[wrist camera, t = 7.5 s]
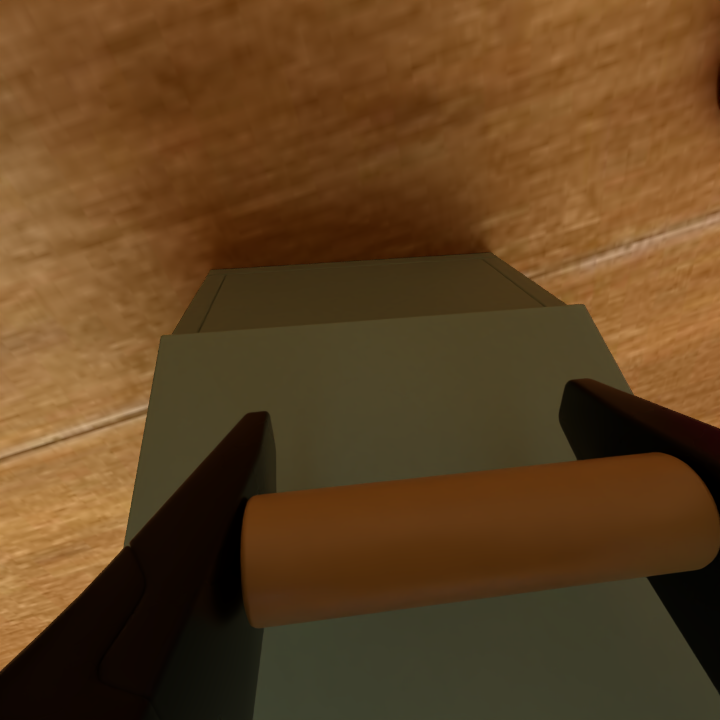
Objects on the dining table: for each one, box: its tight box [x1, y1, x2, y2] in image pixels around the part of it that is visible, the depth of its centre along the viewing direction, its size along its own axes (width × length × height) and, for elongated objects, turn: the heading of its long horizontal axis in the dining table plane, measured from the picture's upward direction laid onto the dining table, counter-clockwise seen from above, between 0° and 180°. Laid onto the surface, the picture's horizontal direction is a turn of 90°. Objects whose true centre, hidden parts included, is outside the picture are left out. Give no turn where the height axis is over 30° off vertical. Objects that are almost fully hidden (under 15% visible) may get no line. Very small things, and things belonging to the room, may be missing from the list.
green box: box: [172, 253, 567, 335], centre depth 20 cm, size 16×13×7 cm
